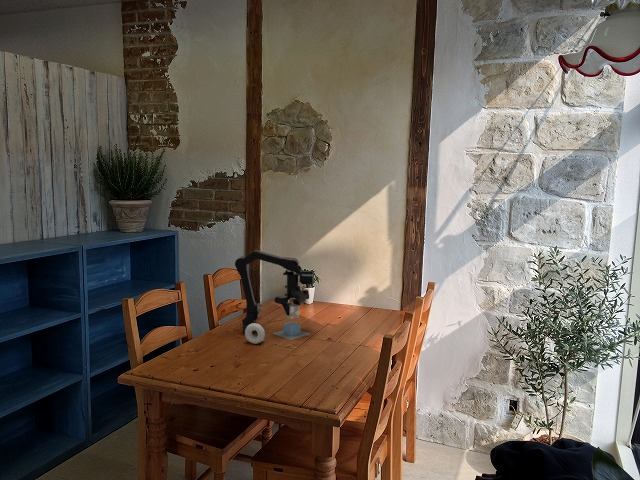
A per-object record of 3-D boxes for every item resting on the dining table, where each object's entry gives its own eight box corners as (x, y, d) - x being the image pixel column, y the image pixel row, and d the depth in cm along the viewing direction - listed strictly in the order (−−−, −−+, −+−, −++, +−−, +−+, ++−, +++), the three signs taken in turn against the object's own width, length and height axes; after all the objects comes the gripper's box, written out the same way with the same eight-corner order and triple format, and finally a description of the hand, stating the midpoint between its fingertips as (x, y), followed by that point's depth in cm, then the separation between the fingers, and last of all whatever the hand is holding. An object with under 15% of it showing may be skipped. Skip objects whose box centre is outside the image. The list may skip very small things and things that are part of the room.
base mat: (290, 342, 252) (290, 340, 252) (271, 335, 262) (271, 333, 262) (311, 335, 262) (311, 333, 262) (292, 329, 272) (292, 327, 272)
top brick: (291, 319, 257) (291, 307, 256) (284, 316, 261) (284, 305, 260) (299, 317, 261) (299, 305, 260) (292, 315, 264) (292, 303, 263)
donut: (243, 343, 249) (243, 323, 248) (246, 341, 252) (246, 321, 251) (263, 345, 246) (263, 325, 245) (266, 343, 249) (266, 323, 248)
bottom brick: (291, 336, 258) (291, 326, 257) (283, 333, 262) (283, 323, 261) (300, 333, 262) (300, 324, 261) (292, 331, 266) (292, 321, 265)
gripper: (289, 289, 246) (288, 321, 248) (317, 284, 259) (316, 314, 262) (274, 285, 254) (273, 316, 256) (301, 280, 267) (301, 310, 269)
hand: (291, 314), depth 260 cm, fingers closed on top brick, 5 cm apart
